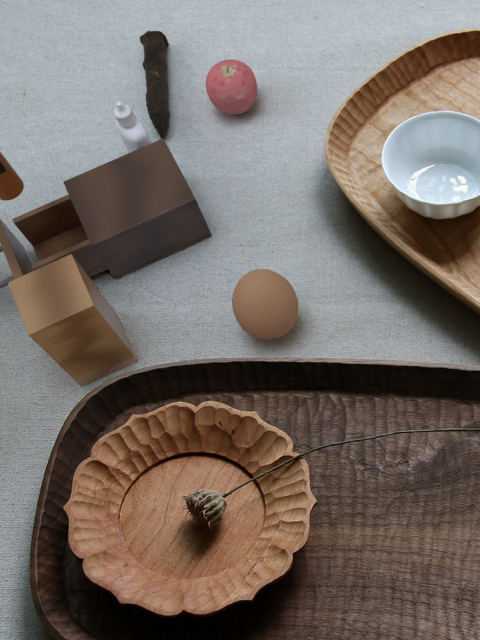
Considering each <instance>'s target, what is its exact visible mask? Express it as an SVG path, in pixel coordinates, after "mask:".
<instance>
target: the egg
mask: <svg viewBox="0 0 480 640" xmlns="http://www.w3.org/2000/svg"><path fill="white" fill-rule="evenodd" d="M231 296H232V297H231V306H232V312H233V316H234V317H235V318H234V319H235V321H236V322H237V323H238V324H239V326H240V327H241V329H242V330H243V331H244V332H246V333H247V334H248V335H249V336H251V337H253V338H256V339H258V340H264V341H269V340H270V341H271V340H276V339H279V338H282V337H283V336H285V335H286V334H288V333H289V332H290V331H291V330H292V328H293V327H294V326H295V324H296V322H297V319H298V316H299V313H300V309H299V308H300V307H299V305H300V304H299V299H298V296H297V292H296V290H295V289H294V287H293V286H292V284H291V282H290V281H288V279H287V278H285V277H284V276H283V275H282V274H281V273H278V272H276V271H275V270H271V269H266V268H256V269H253V270H250V271H248V272H247V273H245V274H243V276H241V277H240V279H239V280H238V281H237V282H236V285H235V286H234V289H233V293H232V295H231Z"/></svg>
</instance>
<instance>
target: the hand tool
mask: <svg viewBox="0 0 480 640" xmlns="http://www.w3.org/2000/svg"><path fill="white" fill-rule="evenodd" d="M139 42H140V44H141V45H142V47H143V53H144V54H143V56H144V57H143V61H142V62H141V63H142V68H143V70H144V72H145V84H146V93H145V107H146V110H147V113H148V116H149V119H150V121H151V123H152V125H153V127H154V129H155V130H156V132H157V134H158V136H159V137H160V139H162V138H164V140H165V138H166V137H167V134H168V130H169V124H170V118H171V117H170V116H171V113H170V109H169V92H168V87H169V84H168V63H167V51H168V48H169V47H170V43H169V41H168V38H167V36H166V35H165V34H164V33H163V32H162V31H160V30H147V31H146V32H144V33H143V34H142V35H140V36H139Z"/></svg>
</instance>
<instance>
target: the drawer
mask: <svg viewBox="0 0 480 640" xmlns="http://www.w3.org/2000/svg"><path fill="white" fill-rule="evenodd" d="M11 221H12V223H13V225H15V227H16V228H17V229H18V230H19V232H20V233H21V234H22V236H23V237H24V238H25V239H26V240H27V241H28V242H29V244H30V245H31V246H32V248H33V251H34V253H35V255H36V258H37V260H38V261H36V262H33V263H32V262H31V260H30V257H29V254H28V253H27V250H26V247H25V246H24V244H22V242H21V241H20V240H19V239H18V238H17V236H15V234H14V233H13V232H12V230H10V228H9V227H8V225H6V223H5V222H4V220H2V218H0V253H3V254H4V257H5V259H6V261H7V265H8V267H9V269H10V272H11V274H12V276H10V277H8V278H6V279H3V280H1V281H0V290H1V289H3V288H5V287H7V286H9V284H8V282H10V281H12V280H15V279H17V278H19V277H21V276H23V275H26V274H28V273H30V272H32V271H35V270H37V269H39V268H41V267H44V266H46V265H48V264H50V263H52V262H55V261H57V260H59V259H61V258H64V257H66V256H68V255H70V254H72V255H73V257H74V258H75V259H76V261H77V262H78V263H79V264H80V266H81V267H82V268H83V270H84V271H85V272H86V274H87V275H88V276H89V278H91V277H94V276H97V275H98V274H100V273H102V272H105V271H107V270H109V269H108V268H107V266H106V265H105V264H104V262H103V261H102V259H101V258H100V257H99V255H98V254H97V252H96V251H95V250H94V248H93V247H92V245H91V243H90V241H89V239H88V236H87V234H86V232H85V230H84V227H83V225H82V223H81V221H80V219H79V216H78V214H77V212H76V210H75V207H74V205H73V203H72V201H71V199H70V196H69V194H68V193H67V194H66V195H64V196H62V197H60V198H57V199H55V200H52V201H50V202H48V203H45V204H43V205H41V206H38V207H36V208H35V209H32V210H29V211H27V212H25V213H22V214H21V215H18V216H16V217H14V218H12V219H11Z"/></svg>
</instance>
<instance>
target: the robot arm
mask: <svg viewBox="0 0 480 640" xmlns="http://www.w3.org/2000/svg"><path fill="white" fill-rule="evenodd" d="M4 172H6V169H5V166H4V165H3V164H2V162H1V161H0V174H2V173H4Z"/></svg>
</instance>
